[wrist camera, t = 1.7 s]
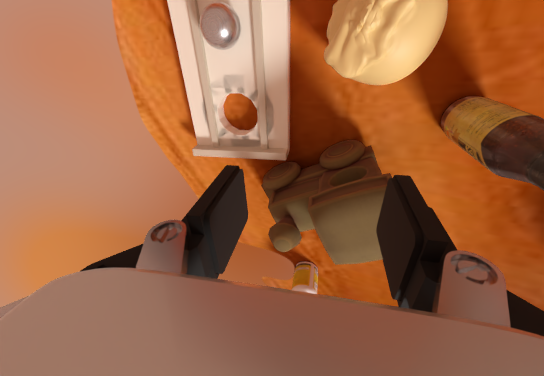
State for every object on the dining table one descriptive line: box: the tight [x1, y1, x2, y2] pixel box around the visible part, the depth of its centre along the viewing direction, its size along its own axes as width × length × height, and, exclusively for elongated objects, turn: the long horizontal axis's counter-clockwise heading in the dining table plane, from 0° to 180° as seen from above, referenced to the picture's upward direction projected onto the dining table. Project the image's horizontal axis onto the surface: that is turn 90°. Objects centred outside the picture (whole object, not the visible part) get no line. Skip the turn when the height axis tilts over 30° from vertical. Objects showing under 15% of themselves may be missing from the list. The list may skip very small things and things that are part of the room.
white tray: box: [167, 0, 290, 160], centre depth 35 cm, size 24×16×4 cm, turn 2°
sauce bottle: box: [441, 96, 544, 190], centre depth 26 cm, size 6×6×20 cm
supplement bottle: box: [292, 261, 318, 294], centre depth 53 cm, size 5×5×10 cm
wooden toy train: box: [262, 140, 392, 265], centre depth 37 cm, size 20×11×17 cm, turn 117°
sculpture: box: [324, 0, 448, 85], centre depth 27 cm, size 12×12×11 cm
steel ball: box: [200, 1, 241, 50], centre depth 30 cm, size 5×5×5 cm
